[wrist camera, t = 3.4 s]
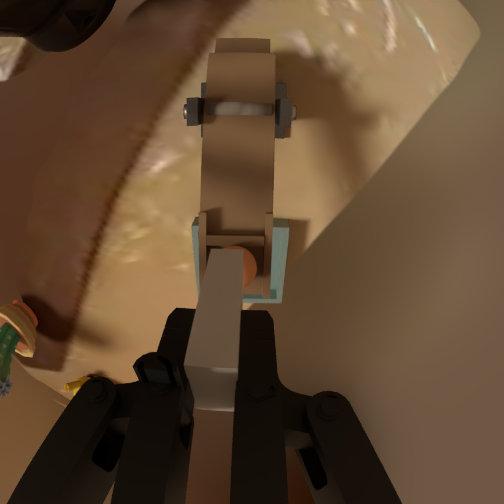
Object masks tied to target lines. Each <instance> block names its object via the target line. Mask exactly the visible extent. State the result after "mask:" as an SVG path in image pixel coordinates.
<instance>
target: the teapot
mask: <svg viewBox="0 0 504 504" xmlns="http://www.w3.org/2000/svg"><path fill="white" fill-rule="evenodd" d="M94 377H98V376H94ZM88 379H91V378H90V377H85V376H83V377H82V378H79V379H77V380H76V381H74V382H70V383H67V384H64V387H65V389H66V391H70V390H73V389H74V396H75V394H76V393H77V391H78V390H79V389H80V387H81V386H82V385H83V384H84V383H85V382H86V381H87V380H88Z"/></svg>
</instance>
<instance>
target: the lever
mask: <svg viewBox="0 0 504 504" xmlns="http://www.w3.org/2000/svg"><path fill="white" fill-rule="evenodd" d="M274 145H275V54H273V53H270V39H258V38H221V39H216V49H215V53H209V59H208V70H207V81H206V93H205V107H204V123H203V141H202V165H201V203H200V212H199V290H200V291H201V287H202V283H203V279H204V275H205V271H206V267H207V263H208V259H209V255H210V251H211V249H224V248H226V247H229V246H240V247H243V248H245V249H247V250H248V251H249V252H250V253H251V254H252V255H253V256H254V258H255V261H256V265H257V271H256V275H255V278H254V280H253V281H252V282H251V284H250V285H248V286H247V287H245V288H244V289H243V294H262V297H263V298H270V285H271V262H272V236H273V189H274Z"/></svg>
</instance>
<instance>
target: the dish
mask: <svg viewBox="0 0 504 504" xmlns="http://www.w3.org/2000/svg"><path fill="white" fill-rule="evenodd" d="M289 230H290V227H289V224H288V220H287V219H273V236H272V262H271V285H270V298H263V297H262V294H243V303H281V302H282V293H283V285H284V276H285V268H286V259H287V249H288V240H289ZM192 238H193V250H194V261H195V271H196V281H197V290H198V299H199V295H200V290H199V217H195V219H194V221H193V224H192Z"/></svg>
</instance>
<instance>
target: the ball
mask: <svg viewBox="0 0 504 504" xmlns="http://www.w3.org/2000/svg"><path fill="white" fill-rule="evenodd" d="M224 249H240V250H244V254H243V289H244V288H245V287H247V286H248V285H250V284H251V282H252V281H253V280H254V278H255V275H256V271H257V265H256V261H255V258H254V256H253V255H252V254H251V253H250V252H249V251H248V250H247V249H245V248H243V247H240V246H229V247H226V248H224Z"/></svg>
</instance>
